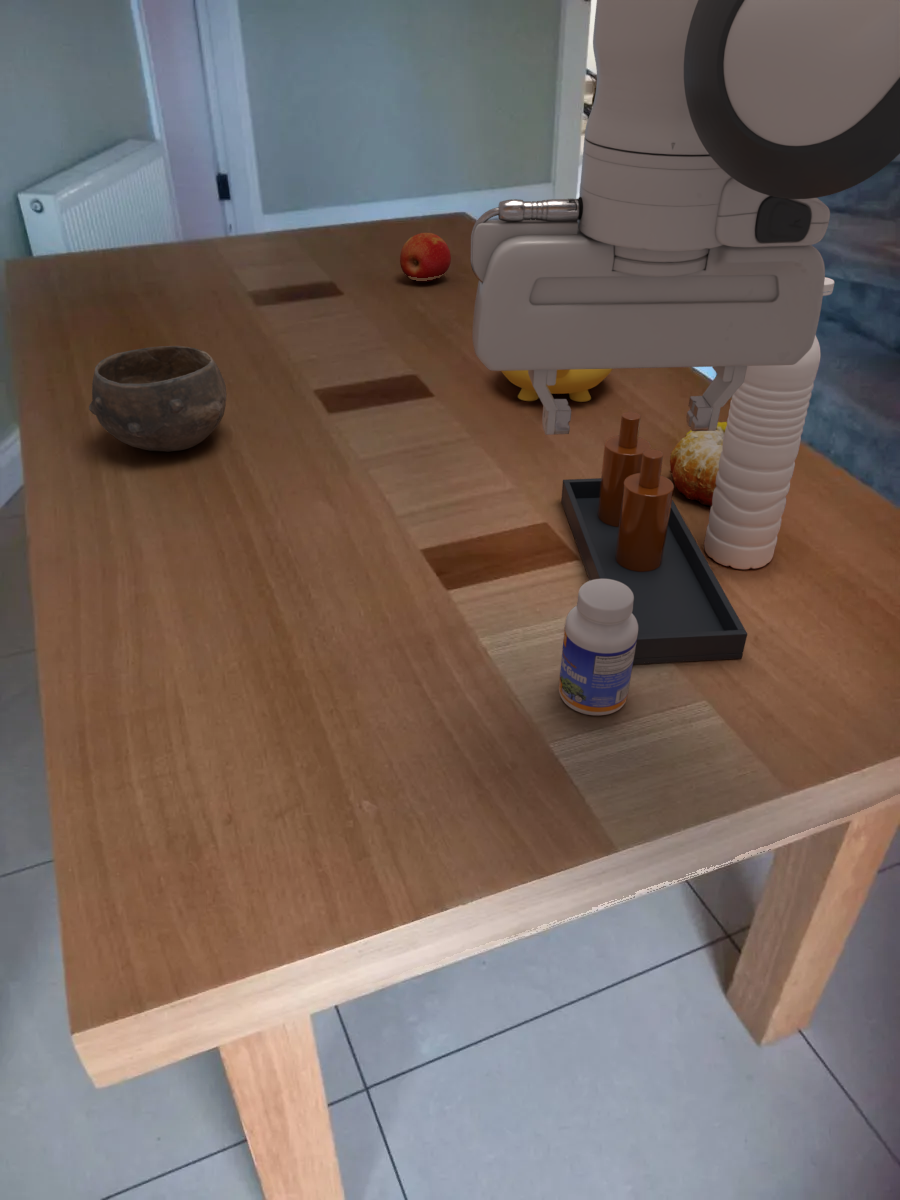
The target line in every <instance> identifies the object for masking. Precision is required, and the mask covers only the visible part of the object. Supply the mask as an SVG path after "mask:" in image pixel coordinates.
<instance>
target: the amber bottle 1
mask: <svg viewBox="0 0 900 1200" xmlns="http://www.w3.org/2000/svg"><path fill="white" fill-rule="evenodd" d="M641 419H642V415H641V414H640V413H638V412H634V411H625V412H623V413H622V414H621V417H620V424H619V425H620V427H619V433H618V434H619V435H614V436H610V437H608V438H607V439H606V440H605V441H604V447H603V457H602V465H601V475H600V476H601V477H600V478H601V484H600V494H599V503H598V513H597V515H598V518H599V519H600V520H601V521H602V522H603V523H605V524H607V525H610V526H615V527H619V519H620V510H621V502H622V494H623V486H624V481H625V479H626V478H627V477H628V476H630V475H633V474H637V473H640V469H641V461H642V454H643V452H644V451H645V450H648V449H652V445H651V443H650V442H649V441H648V440H646V439H645V438H643V437H640V435H639V434H640V429H641V428H640V426H641Z"/></svg>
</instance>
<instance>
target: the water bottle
mask: <svg viewBox="0 0 900 1200" xmlns="http://www.w3.org/2000/svg"><path fill="white" fill-rule="evenodd" d="M834 287H835V280H834V279H832V278H830V277H826V276H825V281H824V290H823V297H827V296H830V295H832V294H833V291H834ZM821 356H822V355H821V345H820V342H819V340H818V337H817V334H816V335H815V339H814V342H813V345H812V347H811V349H810V350H809V351H808V352H807V353H806V354H805V355H804V356H803V357H802V358H801V359H800V360H799V361H798V362H797V363H796V364H794V365H773V366H747V370H746V375H745V379H744V383H743V384H742V385H741V386H740V387H739V388H738V390H737V391H736V392H735V393H734V394H733V395H732V397H731V399H730V404H729V410H728V417H727V419H726V422H727V426H726V429H725V434H724V438H723V445H722V449H723V450H722V452H721V455H720V460H719V471H718V472H717V476H716V488H715V489H714V492H713V498H712V506H710V510H709V514H708V524H707V525H706V530H705V536H704V541H703V547H704V552H705V554H706V555H707V557H709V558H711V559H712V560H713V561H714V562H716V563H718V564H720V565H722V566H725V567H729V566H730V567H731V568H732V569H737V570H749V569H753V570H754V569H755V570H756V569H760V568H762V567H765V566H766V565H767V564H768V563H770V562H771V561H772V559H773V557H774V554H775V551H776V550H775V549H776V546H777V544H778V535H779V532H780V529H781V526H782V519H783V518H782V516H783V515H784V512H785V509H786V505H787V496H788V494H789V492H790V488H791V480H792V478H793V475H794V471H795V468H796V467H795V466H796V463H795V461H796V459H797V458H798V454H799V450H800V445H801V440H802V439H801V438H802V435H803V432H804V426H805V423H806V417H807V415H808V409H809V407H810V401H811V398H812V394H813V393H812V391H813V389H814V387H815V384H814V383H815V380H816V377H817V374H818V371H819V367H820V364H821Z"/></svg>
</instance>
